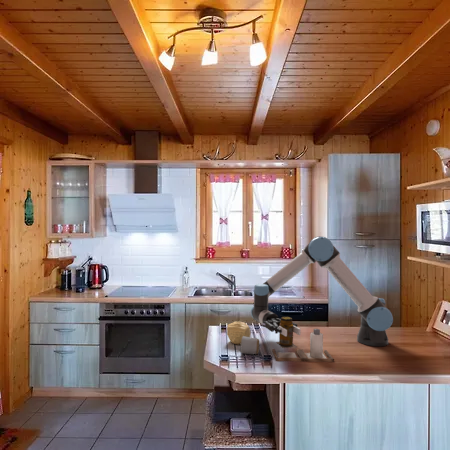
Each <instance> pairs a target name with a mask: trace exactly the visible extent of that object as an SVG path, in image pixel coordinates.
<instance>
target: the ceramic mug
mask: <svg viewBox="0 0 450 450" xmlns="http://www.w3.org/2000/svg"><path fill="white" fill-rule="evenodd" d="M259 351H260V339H259V338H256V337H251V336H250V337H245V336H243V337H242V340H241V345H240V353H241V354H244V355H254V354H255V355H258V354H259Z"/></svg>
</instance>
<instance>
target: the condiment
mask: <svg viewBox="0 0 450 450" xmlns="http://www.w3.org/2000/svg"><path fill="white" fill-rule="evenodd" d="M280 319H281V321H280V322H281V323H280V326H281V327H283V328H284V329H286V330H287V336H284V335H282V334H281V333H279V332H278V334H279V336H278V338H279V339H278V340H279V341H276V342H275V343H276V344H277V345H278V346H279V347H280V348H282V349H296V348H298V346H297V345H296V344H294V332H293V324H292V322H293V318H292V317H290V316H282V317H280Z"/></svg>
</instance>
